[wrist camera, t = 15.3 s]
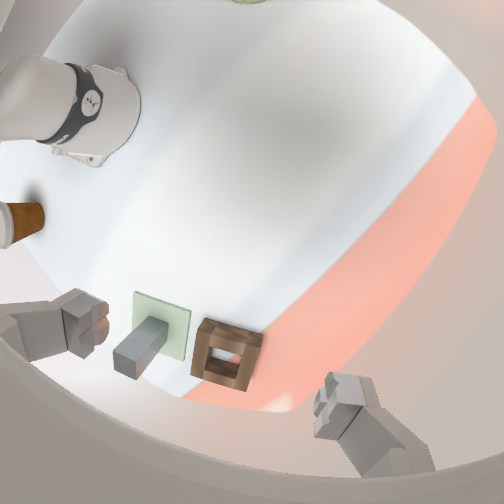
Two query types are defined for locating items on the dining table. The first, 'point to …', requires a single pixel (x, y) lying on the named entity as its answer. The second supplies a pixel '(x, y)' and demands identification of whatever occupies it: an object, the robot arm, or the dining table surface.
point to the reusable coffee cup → (248, 1)
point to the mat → (167, 313)
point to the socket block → (228, 341)
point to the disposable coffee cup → (19, 221)
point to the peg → (140, 347)
